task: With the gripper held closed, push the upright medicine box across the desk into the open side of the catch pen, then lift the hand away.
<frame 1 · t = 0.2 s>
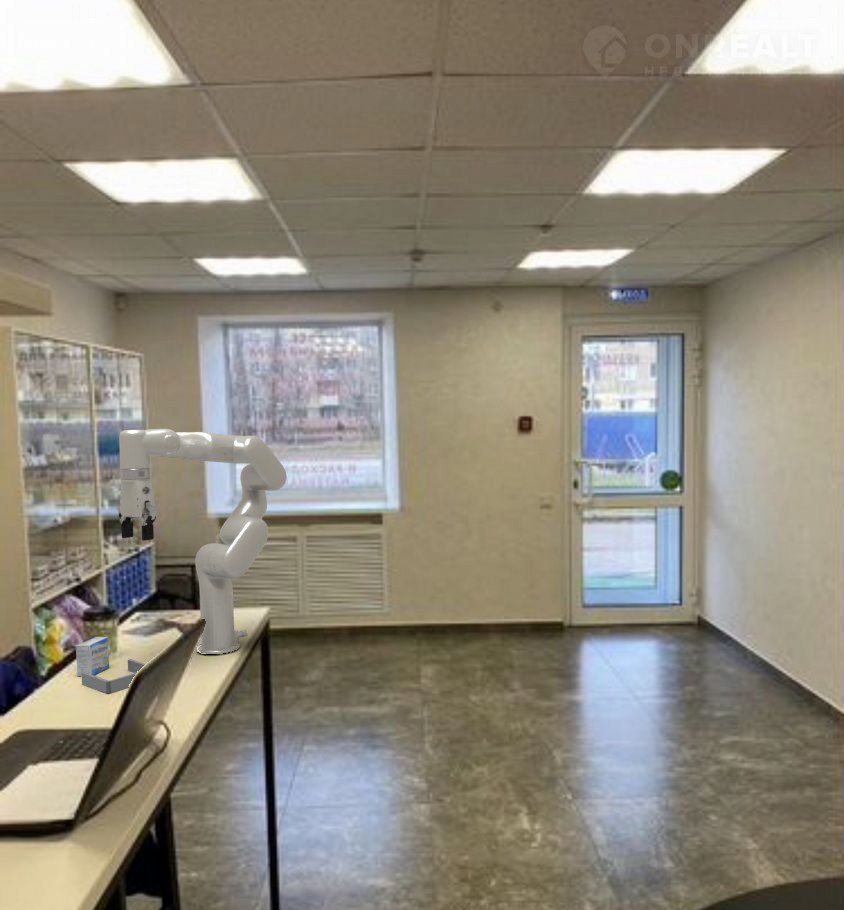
hand: (137, 538, 194), 36 cm above the table, tool pointing down, fingers open, 9 cm apart
catch pen: (119, 681, 188), on the table
medicine box: (93, 673, 196), on the table
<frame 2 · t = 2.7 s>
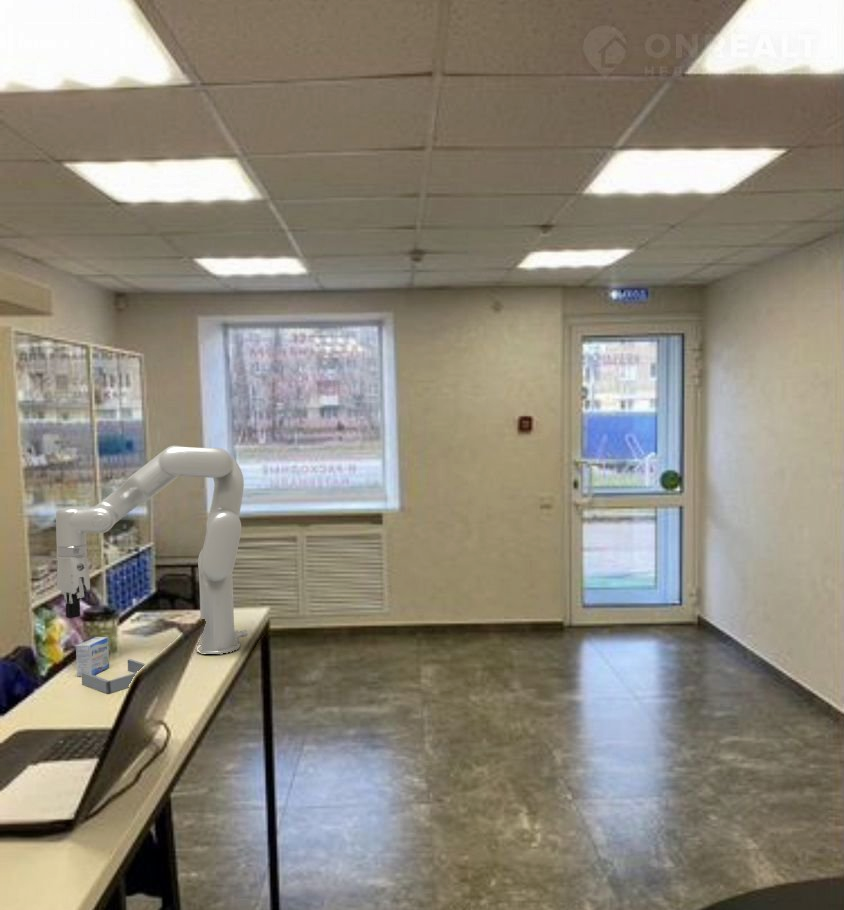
hand: (73, 616, 201), 14 cm above the table, tool pointing down, fingers closed
nothing on the table moved.
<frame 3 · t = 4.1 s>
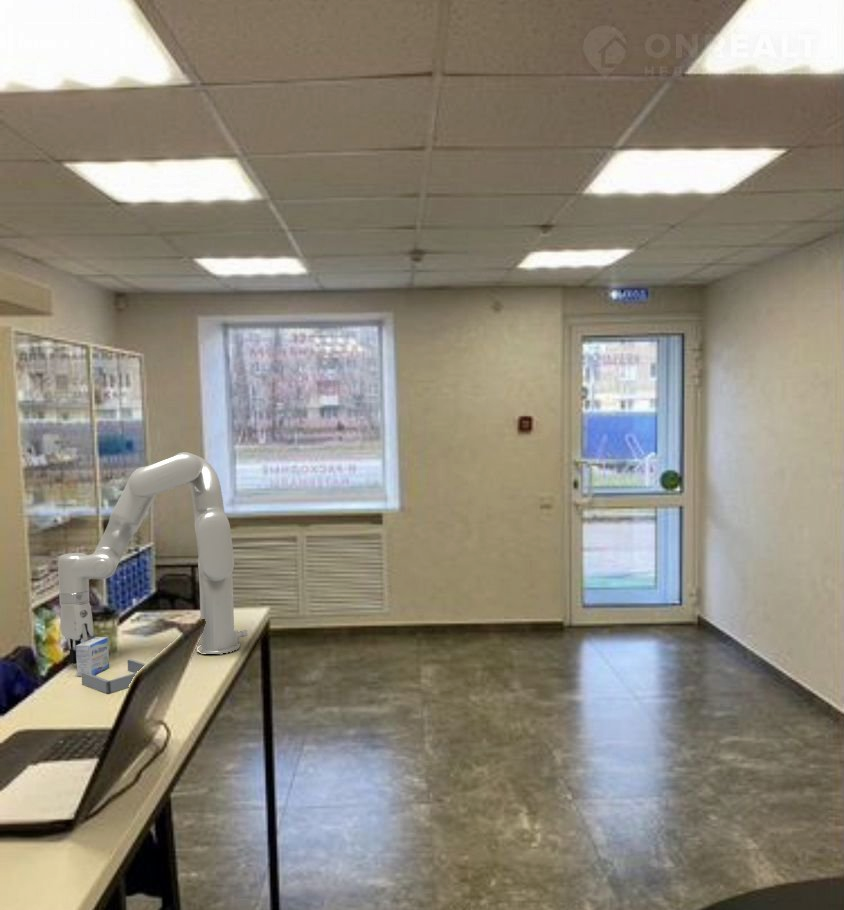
hand: (77, 662, 202), 1 cm above the table, tool pointing down, fingers closed
nothing on the table moved.
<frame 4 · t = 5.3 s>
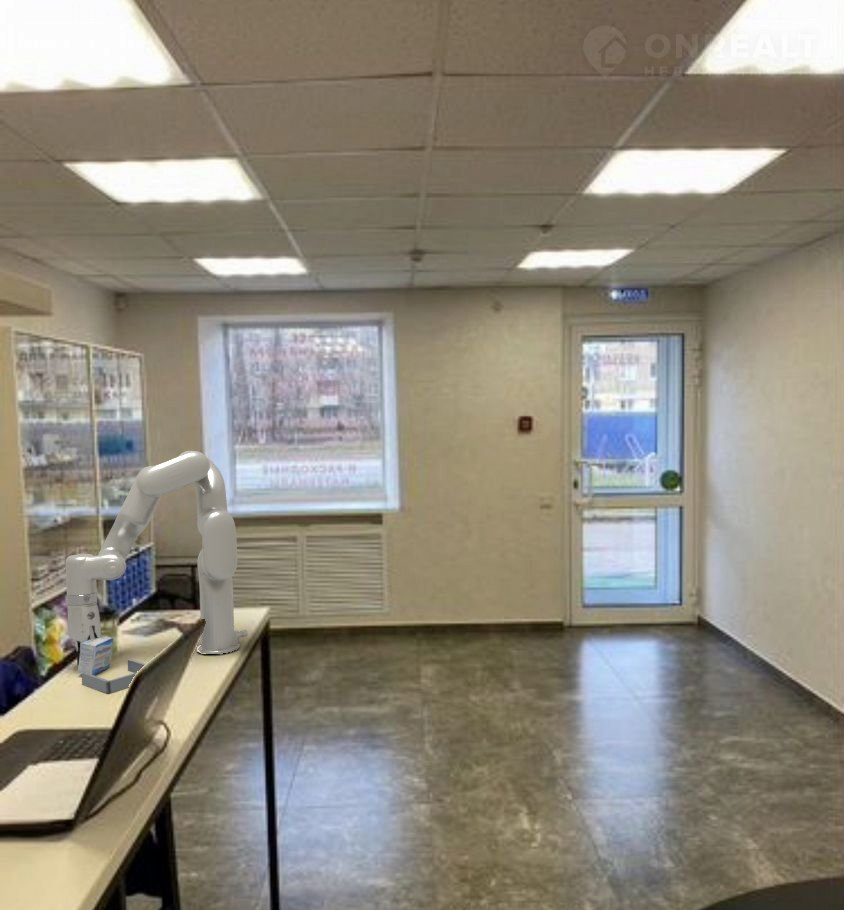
hand: (84, 665, 199), 1 cm above the table, tool pointing down, fingers closed
medicine box: (93, 671, 196), on the table, touching gripper
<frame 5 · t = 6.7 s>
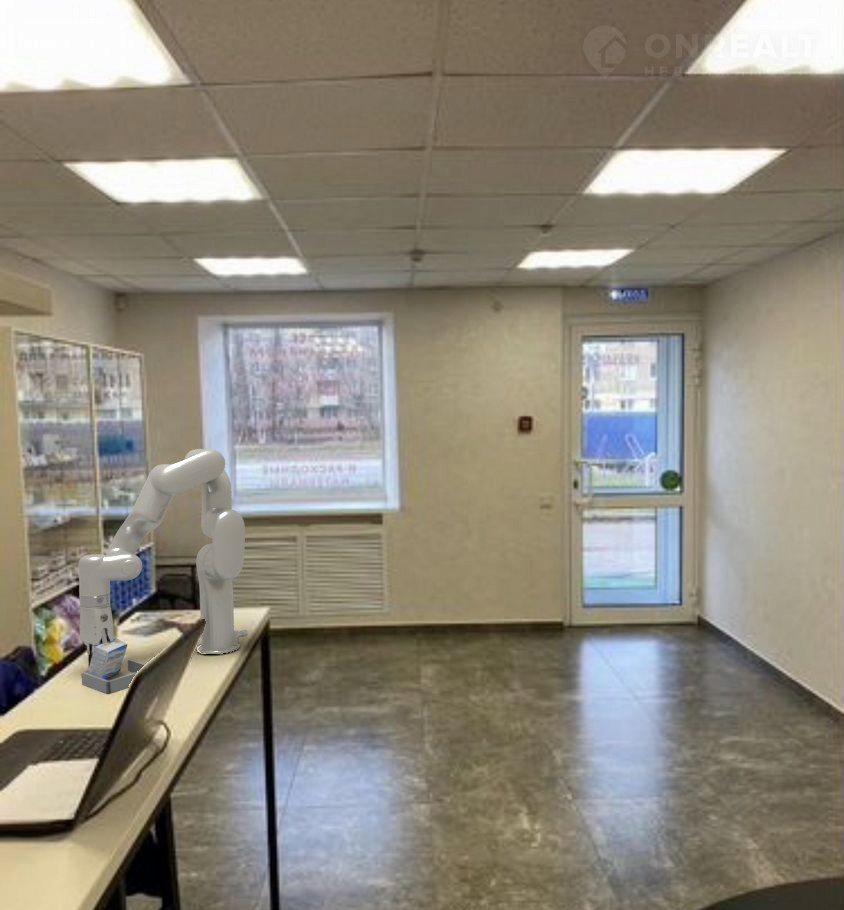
hand: (95, 668, 194), 2 cm above the table, tool pointing down, fingers closed
medicine box: (103, 674, 192), point 1 cm above the table, touching gripper
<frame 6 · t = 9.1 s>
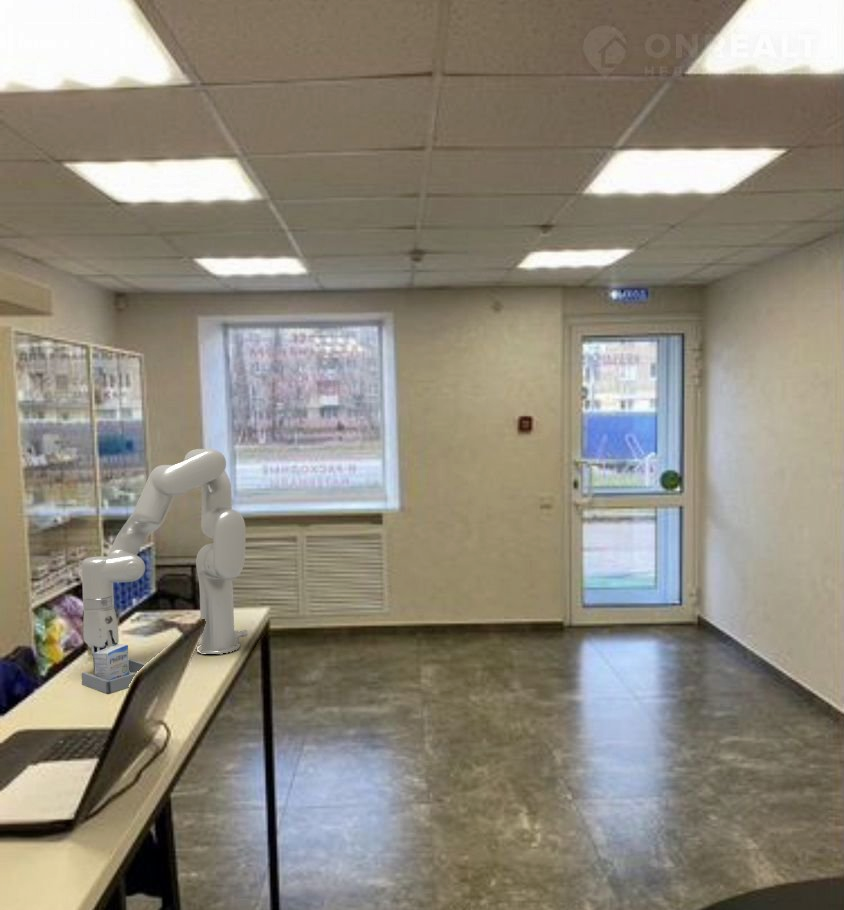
hand: (101, 670, 193), 1 cm above the table, tool pointing down, fingers closed
medicine box: (112, 681, 189), on the table
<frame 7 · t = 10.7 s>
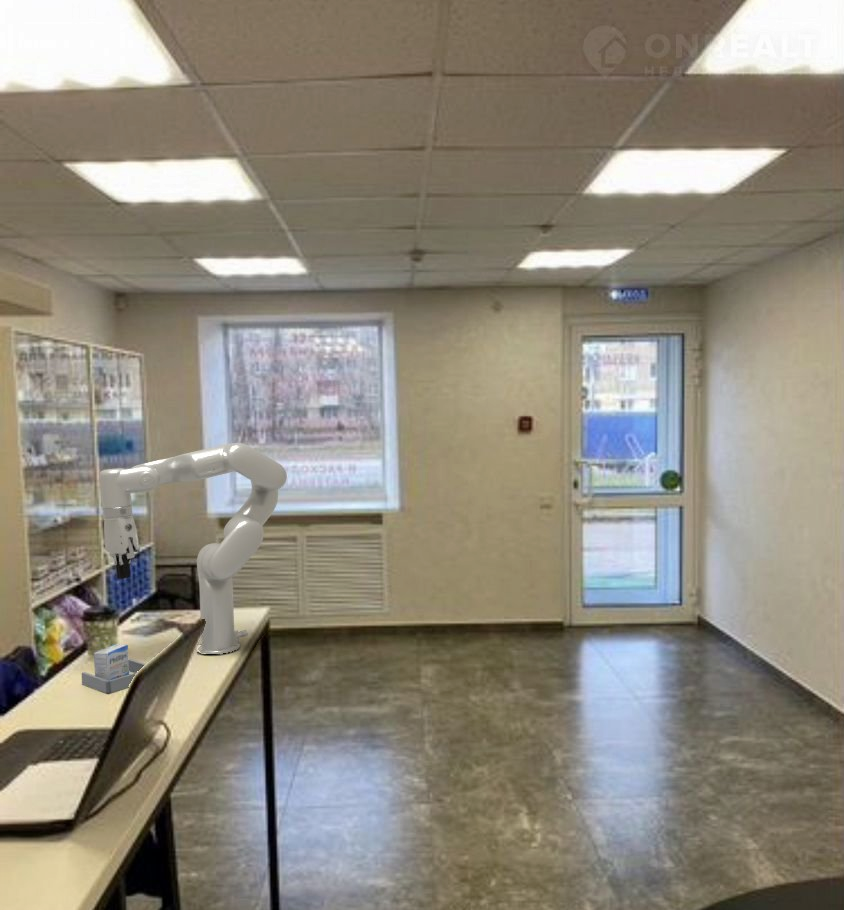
hand: (124, 577, 201), 25 cm above the table, tool pointing down, fingers closed
nothing on the table moved.
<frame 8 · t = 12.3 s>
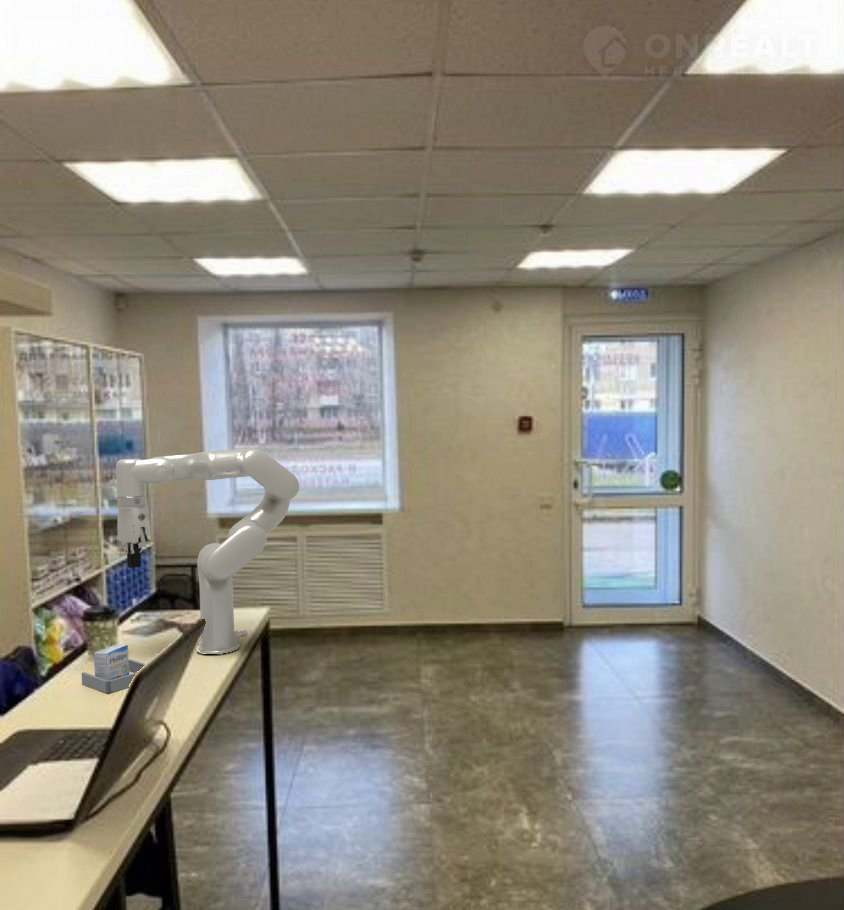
hand: (134, 566, 204), 27 cm above the table, tool pointing down, fingers closed
nothing on the table moved.
at the end: medicine box inside the target area on the catch pen (2.2 cm from its centre), point 0.0 cm above the catch pen's base; medicine box tilted 0° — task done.
